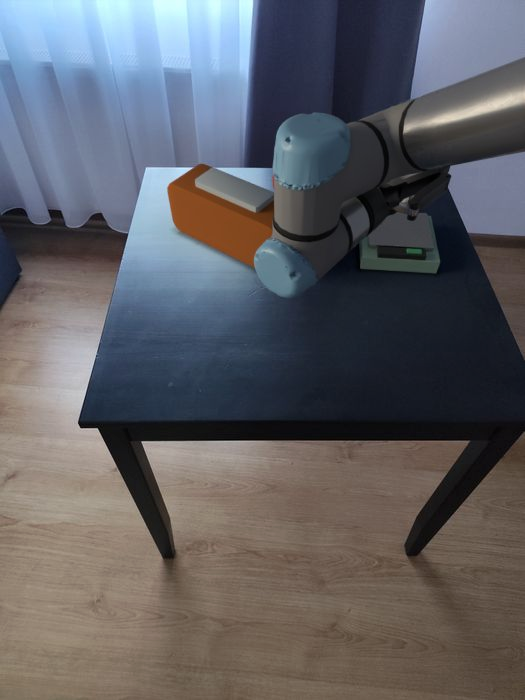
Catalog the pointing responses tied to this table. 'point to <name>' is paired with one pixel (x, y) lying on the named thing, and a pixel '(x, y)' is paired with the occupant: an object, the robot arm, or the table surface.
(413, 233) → the weighing plate
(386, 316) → the table surface
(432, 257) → the scale
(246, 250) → the alarm clock
